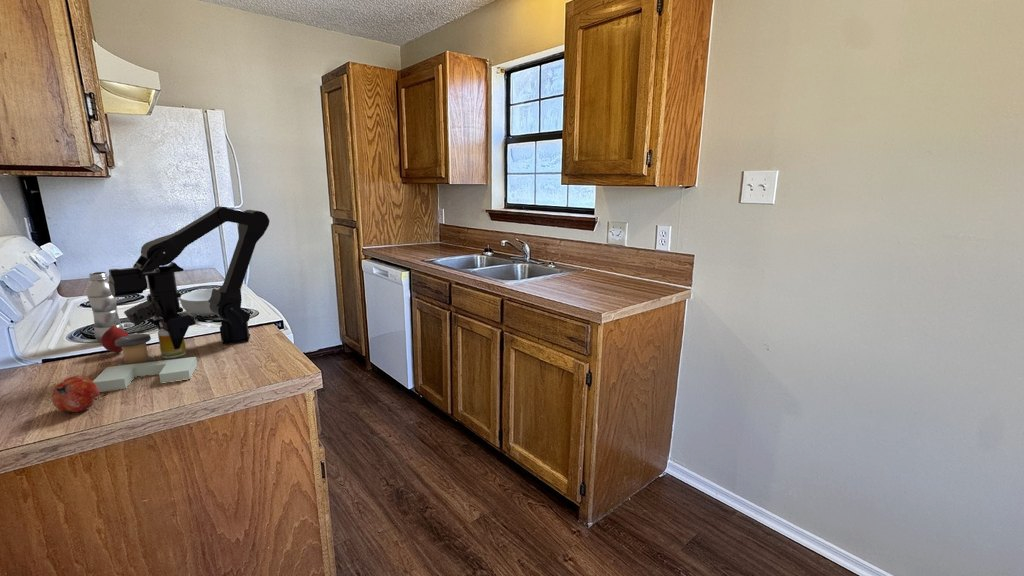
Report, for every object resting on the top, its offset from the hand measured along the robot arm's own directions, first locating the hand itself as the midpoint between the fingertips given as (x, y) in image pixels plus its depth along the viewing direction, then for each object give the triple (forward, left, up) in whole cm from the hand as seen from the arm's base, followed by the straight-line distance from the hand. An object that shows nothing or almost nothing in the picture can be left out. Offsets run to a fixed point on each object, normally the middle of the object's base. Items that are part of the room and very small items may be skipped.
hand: (172, 346), depth 124 cm
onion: (+14, -7, -3) cm, 16 cm away
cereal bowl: (-3, -40, -3) cm, 40 cm away
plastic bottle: (+19, -19, -3) cm, 27 cm away
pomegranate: (+11, +27, -3) cm, 29 cm away
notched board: (+2, +15, -2) cm, 15 cm away
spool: (+7, +4, -2) cm, 8 cm away
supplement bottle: (0, 0, -3) cm, 3 cm away
